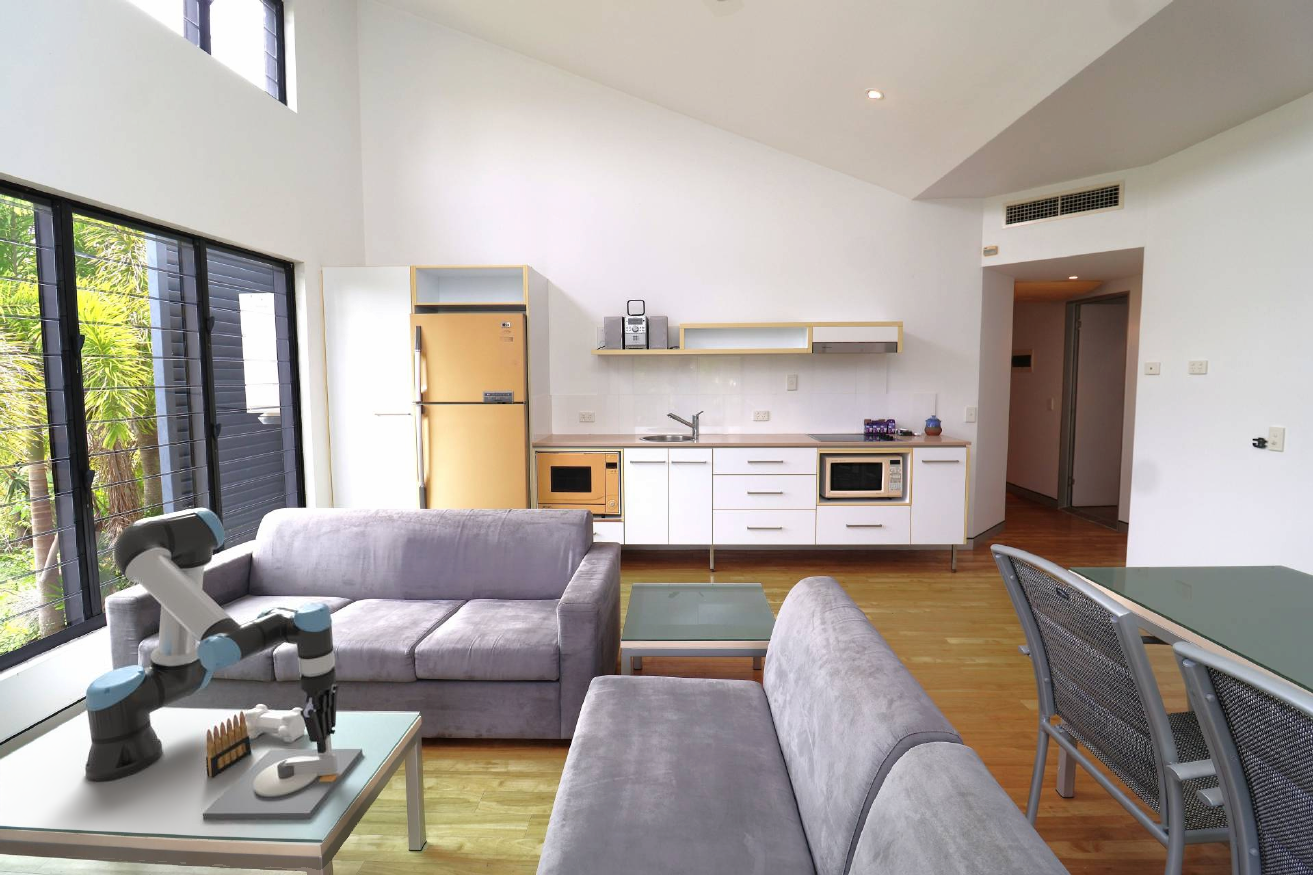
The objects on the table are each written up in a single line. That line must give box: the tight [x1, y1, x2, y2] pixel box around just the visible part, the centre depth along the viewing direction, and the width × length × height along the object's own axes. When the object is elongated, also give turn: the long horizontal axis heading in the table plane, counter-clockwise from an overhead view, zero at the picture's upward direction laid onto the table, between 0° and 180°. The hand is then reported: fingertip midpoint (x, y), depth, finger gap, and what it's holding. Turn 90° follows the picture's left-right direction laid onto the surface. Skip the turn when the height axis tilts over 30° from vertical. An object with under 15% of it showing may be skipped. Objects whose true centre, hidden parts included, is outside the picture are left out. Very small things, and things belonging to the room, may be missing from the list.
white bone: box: [244, 703, 306, 744], centre depth 175 cm, size 15×9×8 cm, turn 78°
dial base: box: [202, 748, 363, 821], centre depth 154 cm, size 24×24×2 cm
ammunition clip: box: [205, 710, 252, 779], centre depth 162 cm, size 11×2×12 cm, turn 163°
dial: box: [253, 755, 338, 797], centre depth 154 cm, size 18×14×4 cm
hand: (325, 761), depth 156 cm, fingers closed
